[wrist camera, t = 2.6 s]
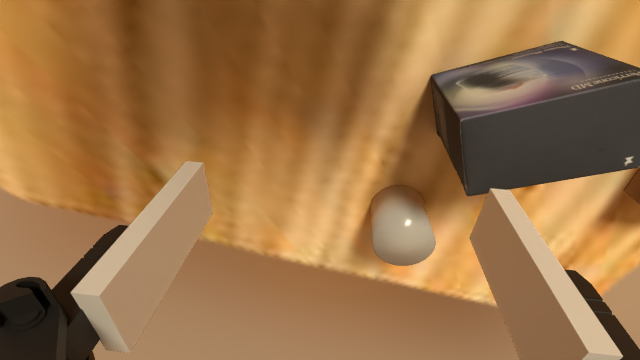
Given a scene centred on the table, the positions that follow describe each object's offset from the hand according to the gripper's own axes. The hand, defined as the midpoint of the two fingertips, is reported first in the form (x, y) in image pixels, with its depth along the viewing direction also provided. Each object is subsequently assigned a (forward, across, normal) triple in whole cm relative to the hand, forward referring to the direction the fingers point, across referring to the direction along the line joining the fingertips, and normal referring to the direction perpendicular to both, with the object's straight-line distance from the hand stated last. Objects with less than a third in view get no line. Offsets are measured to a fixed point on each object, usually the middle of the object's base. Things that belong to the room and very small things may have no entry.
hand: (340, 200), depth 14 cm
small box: (+19, +13, 0) cm, 23 cm away
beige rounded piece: (+18, +7, -14) cm, 24 cm away
